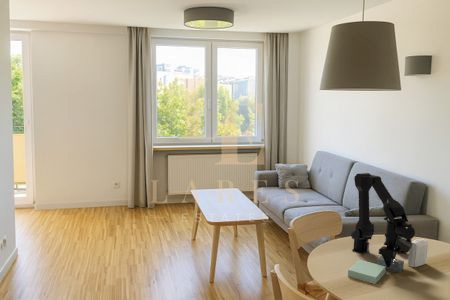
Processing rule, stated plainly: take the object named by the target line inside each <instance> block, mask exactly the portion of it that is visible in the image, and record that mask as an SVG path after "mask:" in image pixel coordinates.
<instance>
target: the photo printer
mask: <svg viewBox="0 0 450 300" xmlns="http://www.w3.org/2000/svg"><path fill="white" fill-rule="evenodd" d="M412 243H413V245H412V247H411V249H410V251H409V252H408V257H407V258H408V260H407V264H408V266H409V267H411V268H417V267H421V266H423V265H426V264H427V262H428V261H427V259H428V250H429V242H428V240H426V239H424V238H417V239H415V240H412Z"/></svg>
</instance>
